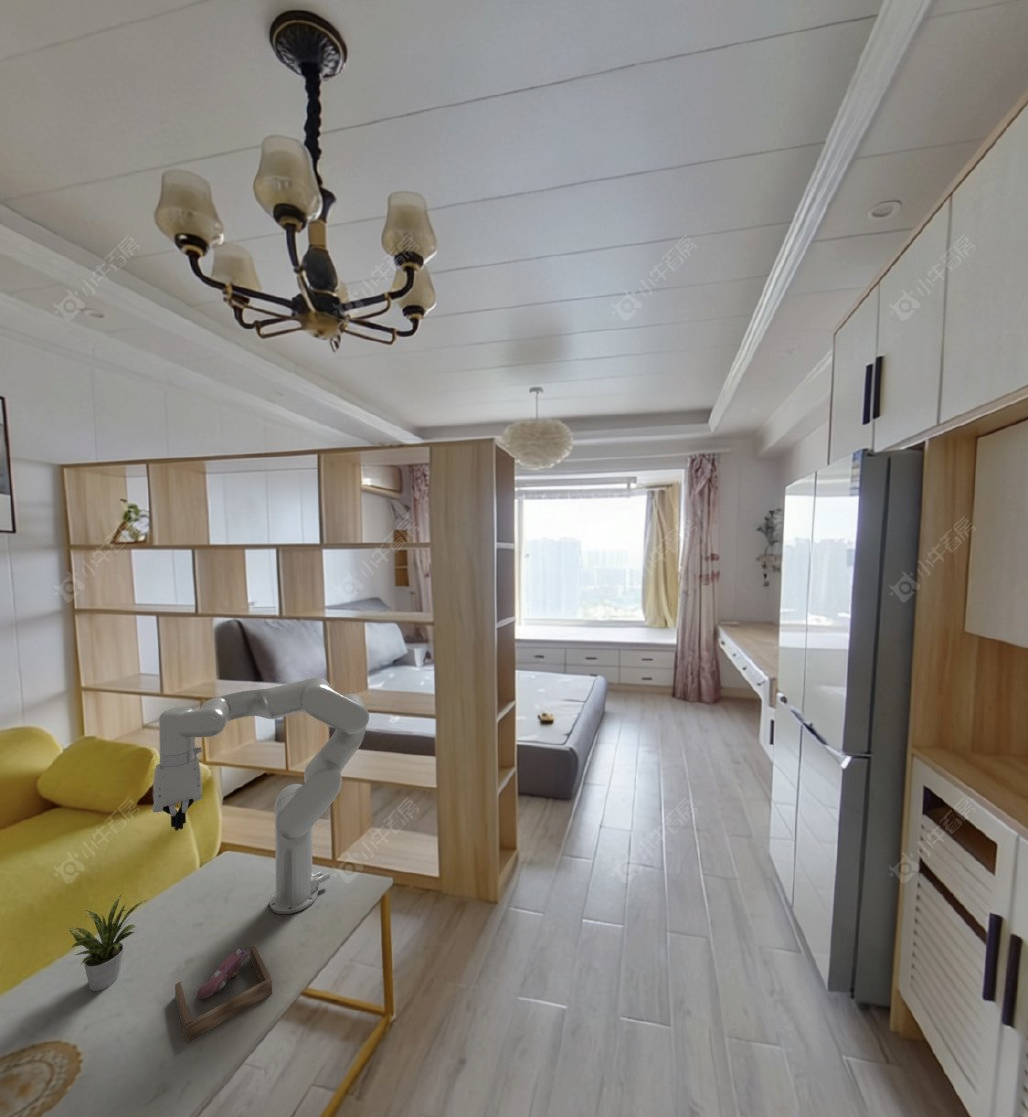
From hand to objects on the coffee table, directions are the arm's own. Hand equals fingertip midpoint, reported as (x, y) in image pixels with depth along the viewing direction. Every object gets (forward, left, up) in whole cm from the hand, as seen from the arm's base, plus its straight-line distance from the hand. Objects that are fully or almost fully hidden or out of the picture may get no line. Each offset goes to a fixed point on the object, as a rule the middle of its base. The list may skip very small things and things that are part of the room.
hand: (178, 827), depth 126 cm
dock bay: (-4, +28, -27) cm, 39 cm away
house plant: (+14, +5, -27) cm, 31 cm away
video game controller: (-5, +25, -27) cm, 37 cm away
